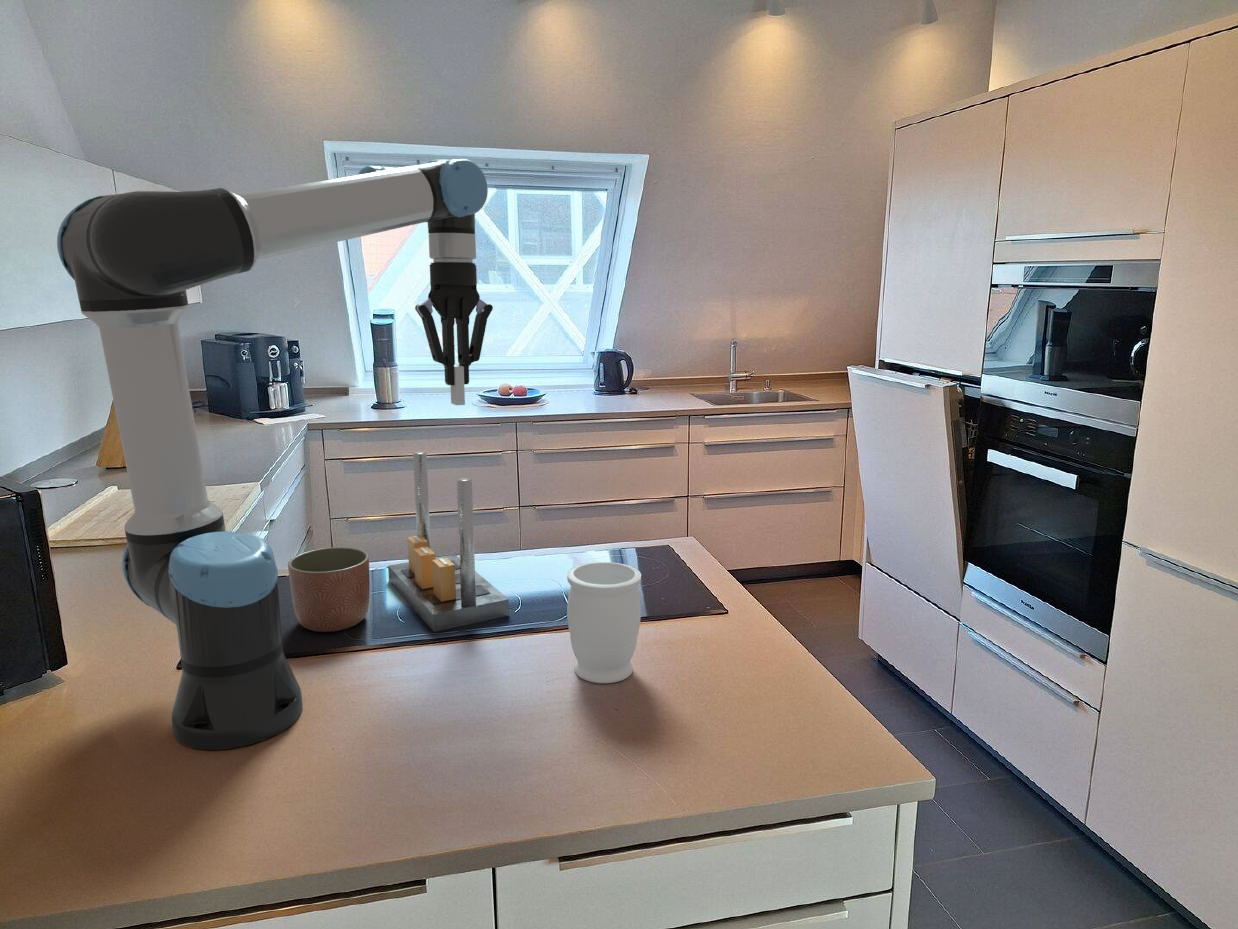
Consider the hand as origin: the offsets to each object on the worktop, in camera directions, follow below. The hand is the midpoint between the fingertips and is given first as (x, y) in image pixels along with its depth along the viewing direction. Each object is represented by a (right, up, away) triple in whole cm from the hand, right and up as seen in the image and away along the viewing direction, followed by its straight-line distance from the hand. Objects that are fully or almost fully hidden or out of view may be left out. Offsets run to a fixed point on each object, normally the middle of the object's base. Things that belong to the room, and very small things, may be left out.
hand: (457, 403), depth 139 cm
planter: (-20, -36, -5) cm, 42 cm away
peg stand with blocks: (-3, -34, +6) cm, 35 cm away
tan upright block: (-6, -31, +3) cm, 32 cm away
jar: (+25, -40, -21) cm, 52 cm away
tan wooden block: (-9, -30, +10) cm, 33 cm away
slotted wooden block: (-2, -32, -2) cm, 33 cm away
